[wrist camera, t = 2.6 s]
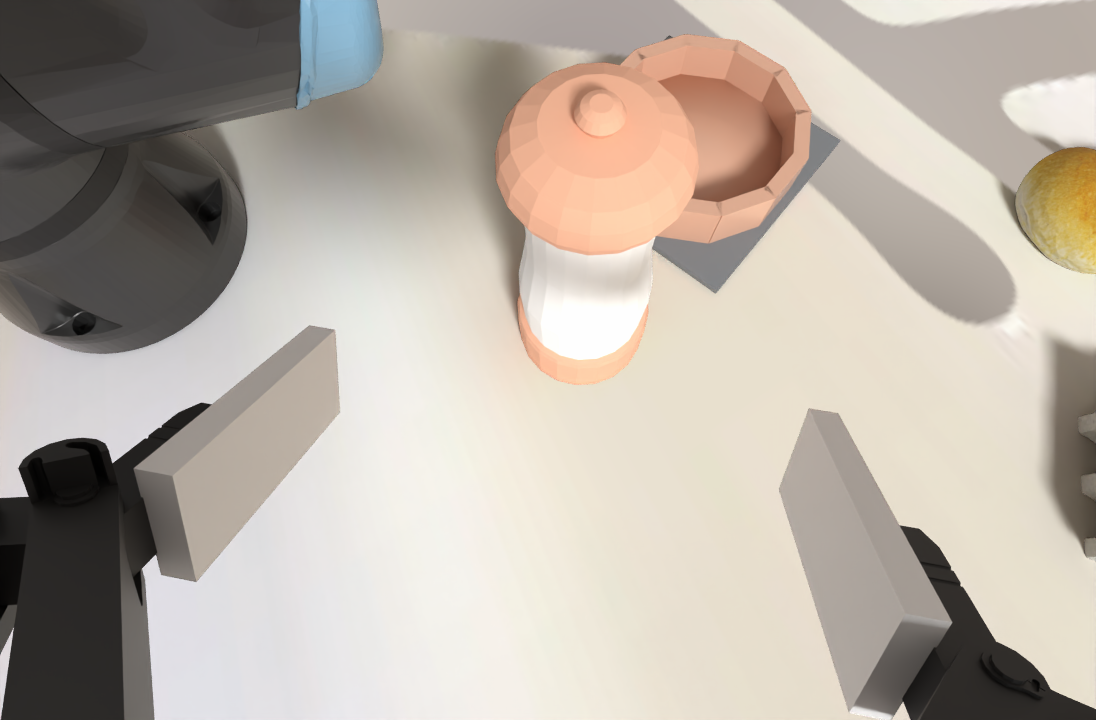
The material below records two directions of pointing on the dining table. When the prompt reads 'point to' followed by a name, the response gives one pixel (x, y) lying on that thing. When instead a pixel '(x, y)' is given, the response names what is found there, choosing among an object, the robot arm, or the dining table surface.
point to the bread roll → (1062, 208)
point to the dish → (731, 130)
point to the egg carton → (1089, 475)
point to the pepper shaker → (592, 210)
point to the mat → (726, 254)
